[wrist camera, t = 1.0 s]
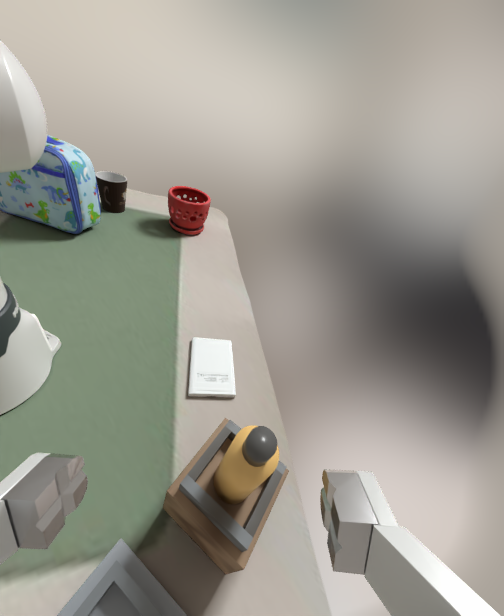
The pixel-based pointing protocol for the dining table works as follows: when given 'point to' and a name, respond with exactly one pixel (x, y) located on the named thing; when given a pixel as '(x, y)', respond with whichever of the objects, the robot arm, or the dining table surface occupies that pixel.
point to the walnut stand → (221, 505)
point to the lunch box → (54, 189)
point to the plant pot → (188, 209)
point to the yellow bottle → (246, 464)
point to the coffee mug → (112, 190)
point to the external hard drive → (211, 368)
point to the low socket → (121, 590)
